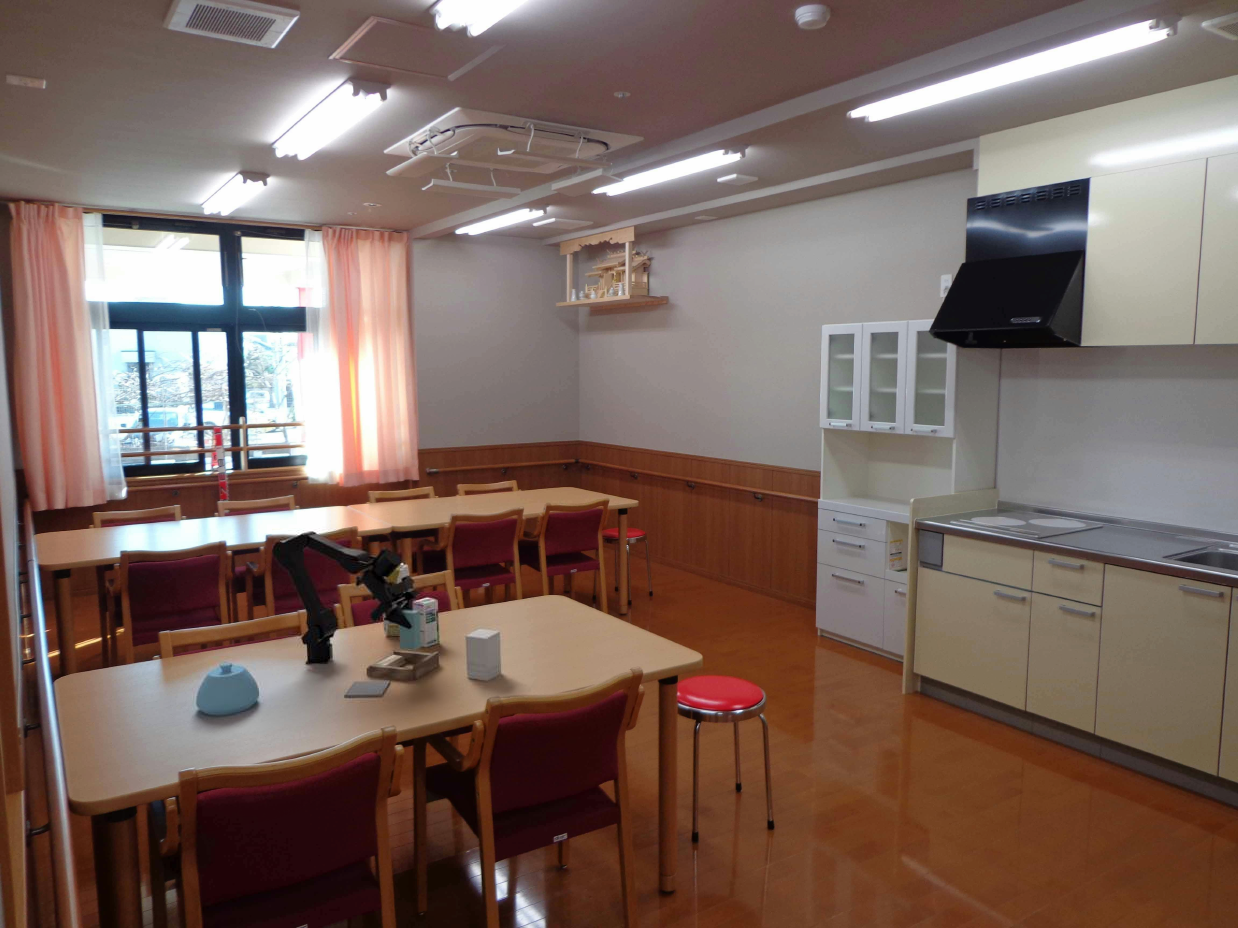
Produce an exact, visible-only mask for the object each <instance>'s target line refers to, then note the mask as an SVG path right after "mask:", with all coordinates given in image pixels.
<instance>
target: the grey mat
mask: <svg viewBox="0 0 1238 928" xmlns="http://www.w3.org/2000/svg"><path fill="white" fill-rule="evenodd" d="M390 684H391V680H367V681H366V680H365V681H363V680H362V681H359V680H358V681H353V683H352V684H351V685H350V687H349V688H348V689H347V691H346V692H345V693H344V695H343V698H367V697H368V698H369V697H374V698H375V697H378V698H379V697H380V698H381V697H383V695H384V694H385V692H386V691H387V689H388V687H389V686H388V685H390ZM386 688H387V689H386Z"/></svg>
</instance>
